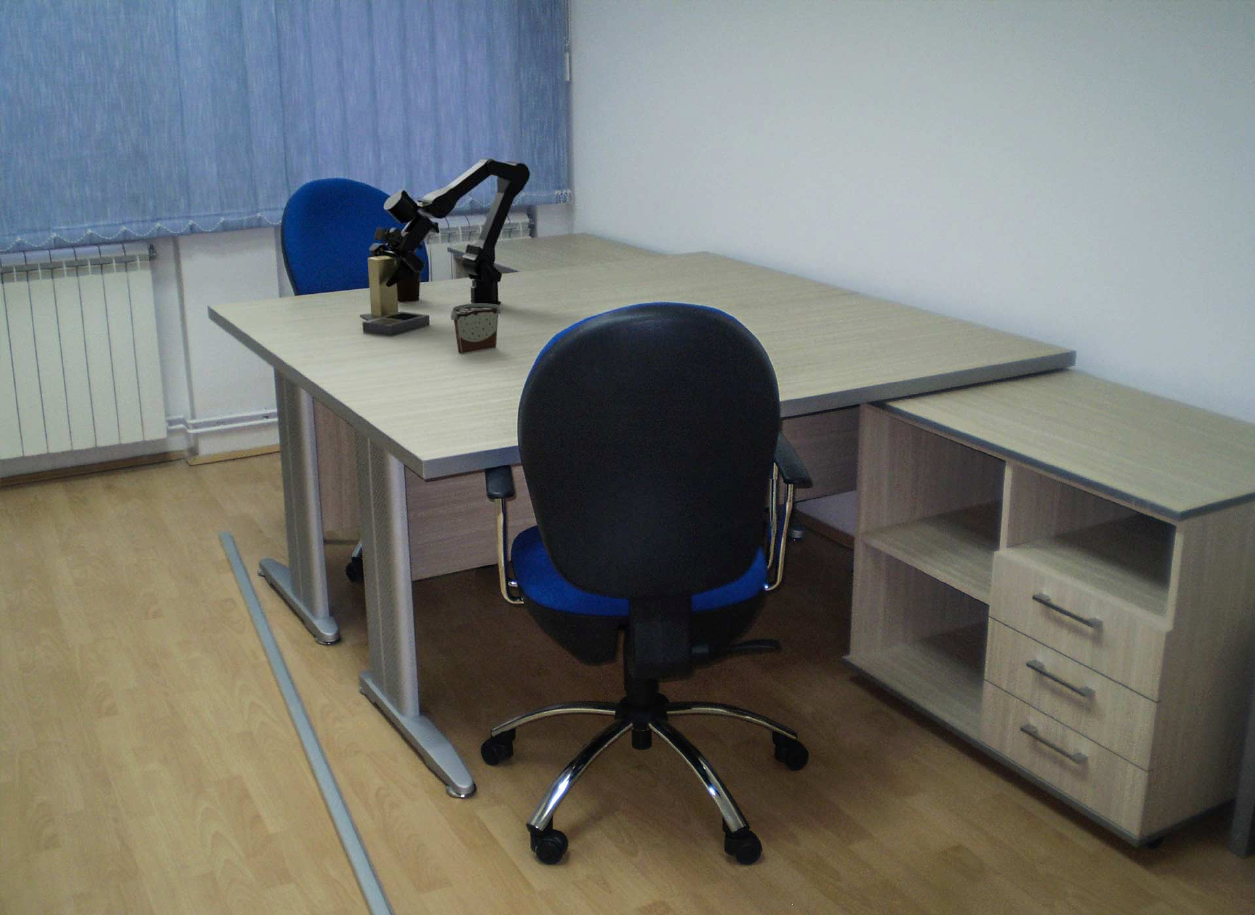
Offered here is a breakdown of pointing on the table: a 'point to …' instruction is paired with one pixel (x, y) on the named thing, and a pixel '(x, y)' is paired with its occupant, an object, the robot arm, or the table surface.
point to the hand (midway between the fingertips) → (377, 283)
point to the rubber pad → (367, 316)
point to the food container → (475, 326)
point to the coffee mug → (409, 288)
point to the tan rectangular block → (382, 286)
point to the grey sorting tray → (396, 323)
